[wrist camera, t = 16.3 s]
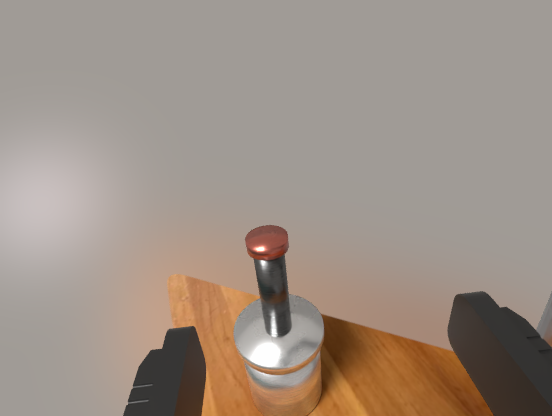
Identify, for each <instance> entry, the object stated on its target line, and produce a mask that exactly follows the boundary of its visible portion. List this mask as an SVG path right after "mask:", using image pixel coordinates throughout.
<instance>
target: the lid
mask: <svg viewBox="0 0 552 416" xmlns="http://www.w3.org/2000/svg"><path fill="white" fill-rule="evenodd" d="M245 241H246V247H247V252H248V254H249V255H250V256H251V257H252V258H254V263H255V269H256V275H257V282H258V288H259V294H260V299H258V300H256V301H254V302H252V303H251V304H249V305H248V306H247V307H246V308H245V309H244V310H243V311H242V312H241V313H240V315H239V316H238V318H237V320H236V323H235V326H234V340H235V344H236V348H237V351H238V353H239V355H240V357H241V358H242V360H243V361H244V362H245V363H246V364H247V365H249V366H250V367H252V368H253V369H255V370H257V371H260V372H263V373H268V374H285V373H290V372H294V371H297V370H299V369H301V368H303V367H304V366H306V365H308V364H309V363H310V362H311V361H312V360H313V359H314V358H315V357H316V356H317V354H318V353H319V351H320V350H321V348H322V345H323V341H324V323H323V319H322V316H321V314H320V312H319V311H318V309H317V308H316V307H315V306H314V305H313V304H312V303H310V302H309V301H308V300H306V299H304V298H301V297H299V296H296V295H291V294H289V293H288V285H287V284H288V283H287V274H286V265H285V255H284V254H285V253H286V252H287V250H288V248H289V243H288V234H287V231H286V230H285V229H283V228H281V227H279V226H274V225H266V226H261V227H258V228H255V229H253V230H251V231H250V232H249V233H248V234H247V236H246V238H245Z"/></svg>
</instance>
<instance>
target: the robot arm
mask: <svg viewBox="0 0 552 416" xmlns="http://www.w3.org/2000/svg"><path fill="white" fill-rule="evenodd" d="M448 337H449V341H450V344H451V346H452V348H453V350H454V352H455V353H456V355H457V357H458V358H459V360H460V361H461V363H462V365H463V366H464V368H465V369H466V371H467V373H468V374H469V376H470V377H471V379H472V381H473V382H474V384H475V385H476V387H477V389H478V390H479V392H480V393H481V395H482V397H483V398H484V400H485V401H486V403H487V405H488V406H489V408H490V409H491V411H492V413H493V414H494V416H552V293H551V295H550V298H549V300H548V303H547V305H546V308H545V310H544V312H543V315H542V317H541V320H540V322H539V325H538V327H537V330H535V329H534V328H533V327H532V326H531V325H530V324H529V322H528V321H527V320H526V319H524V318H522V317H521V316H520V315H518V314H517V313H515V312H513V311H512V310H510V309H509V308H507V307H502V308H500V307H499V306H498V305H497V304H496V302H495V301H494V300H493V299H492V298H491V297H490V296H489V295H488V294H487V293H485V292H483V291H482V292H481V291H480V292H472V293H465V294H458V295H456V296H455V298H454V302H453V307H452V311H451V315H450V320H449V325H448ZM205 381H206V363H205V358H204V354H203V351H202V348H201V345H200V341H199V338H198V335H197V332H196V329H195V327H194V326H190V327H182V328H174V329H169V330H168V331H167V333H166V336H165V340H164V344H163V348H162V349H156V350H151V351H150V352H149V354H148V355H147V357H146V358H145V359H144V361H143V362H142V363H141V365H140V366H139V368H138V371H137V374H136V378H135V381H134V384H133V389H132V390H131V393H130V396H129V399H128V405H127V406H126V409H125V412H124V415H123V416H201V414H202V406H203V397H204V389H205Z"/></svg>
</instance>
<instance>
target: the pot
mask: <svg viewBox="0 0 552 416" xmlns="http://www.w3.org/2000/svg"><path fill="white" fill-rule="evenodd" d="M244 363H245V362H244ZM245 368H246V372H247V377H248V381H249V386H250V390H251V395H252V399H253V402H254V404H255V406H256V407H257V409H258V410H259V411H260V412H261V413H262V414H263V415H264V416H306V415H308V414H309V413H310V412H311V411H312V410H313V409H314V408H315V407H316V405H317V404H318V402H319V399H320V396H321V392H322V378H321V358H320V351H319V353H318V354H317V356H316V357H315V358H314V359H313V360H312V361H311V362H310V363H309V364H308V365H306V366H304V367H303V368H301V369H299V370H297V371H294V372H290V373H285V374H268V373H263V372H260V371H257V370H255V369H253V368H252V367H250V366H249V365H247V364H246V363H245Z"/></svg>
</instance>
